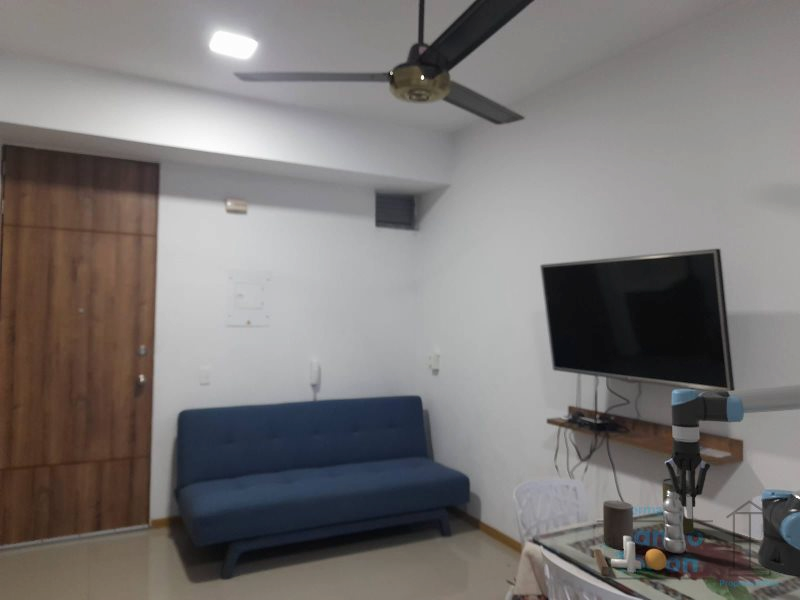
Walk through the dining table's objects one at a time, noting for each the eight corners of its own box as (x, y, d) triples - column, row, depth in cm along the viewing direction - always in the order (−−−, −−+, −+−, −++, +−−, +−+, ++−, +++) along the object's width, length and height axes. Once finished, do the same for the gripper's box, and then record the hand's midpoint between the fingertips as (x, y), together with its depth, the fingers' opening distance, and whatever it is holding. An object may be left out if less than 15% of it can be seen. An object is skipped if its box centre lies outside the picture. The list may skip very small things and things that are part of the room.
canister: (687, 536, 203) (685, 479, 204) (658, 528, 211) (656, 474, 212) (699, 529, 211) (697, 474, 212) (670, 522, 218) (668, 469, 219)
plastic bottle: (688, 556, 185) (686, 494, 186) (666, 555, 186) (664, 493, 187) (682, 549, 191) (681, 488, 192) (661, 547, 192) (659, 487, 194)
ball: (639, 556, 179) (655, 569, 178) (643, 563, 173) (660, 577, 172) (651, 541, 178) (667, 555, 177) (656, 548, 172) (673, 563, 171)
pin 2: (634, 569, 175) (633, 541, 175) (636, 572, 172) (635, 544, 173) (626, 569, 175) (625, 541, 176) (628, 572, 173) (627, 543, 173)
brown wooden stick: (600, 557, 184) (600, 549, 185) (608, 575, 171) (608, 566, 171) (594, 556, 185) (594, 549, 185) (601, 574, 171) (601, 566, 171)
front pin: (639, 559, 177) (610, 557, 178) (641, 562, 174) (612, 560, 176) (639, 567, 177) (610, 565, 178) (641, 570, 174) (612, 568, 176)
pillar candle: (603, 547, 193) (603, 503, 193) (603, 537, 202) (602, 495, 203) (634, 551, 190) (634, 506, 190) (632, 541, 199) (632, 497, 200)
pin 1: (631, 563, 180) (630, 535, 180) (632, 566, 177) (632, 538, 178) (623, 562, 180) (622, 535, 180) (624, 565, 178) (624, 538, 178)
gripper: (704, 438, 178) (707, 514, 176) (660, 436, 180) (662, 512, 179) (713, 442, 170) (715, 522, 169) (666, 441, 173) (669, 519, 171)
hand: (688, 517), depth 174 cm, fingers closed
